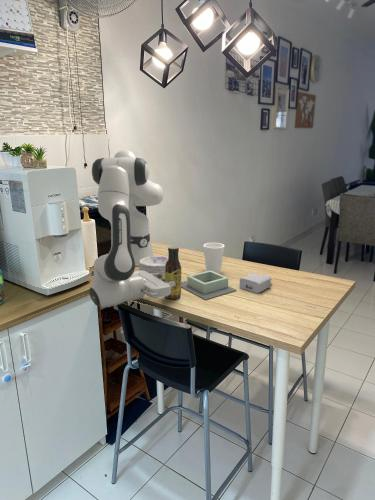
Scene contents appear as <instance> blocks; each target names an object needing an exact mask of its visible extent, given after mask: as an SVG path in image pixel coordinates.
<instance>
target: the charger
mask: <svg viewBox="0 0 375 500" xmlns="http://www.w3.org/2000/svg"><path fill="white" fill-rule="evenodd" d="M271 280H273V278H272V276H270V275H268V274H267V275H266V274H260V273H256V272H252V273H250V274H248V275H246V276H243V277H241V278H239V288H240V289H242V290H245V291H248V292H252V293H253V294H254V293H255V294H259V293H261V292H263V291H265V290H267V289H269V288H271V282H272V281H271Z"/></svg>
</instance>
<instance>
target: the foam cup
mask: <svg viewBox="0 0 375 500" xmlns="http://www.w3.org/2000/svg"><path fill="white" fill-rule="evenodd" d="M225 247H226V246H225V244H223V243H220V242H206V243H204V244H203V247H202V249H203V250H202V251H203V256H204V263H205V272H206V271H210V270H211V271H213V272H216V273H218V274H220V275H221V271H222V265H223V259H224V253H225Z"/></svg>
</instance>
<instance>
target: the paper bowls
mask: <svg viewBox="0 0 375 500" xmlns="http://www.w3.org/2000/svg"><path fill="white" fill-rule="evenodd" d="M168 257H169V256H164V255H163V256H161V255H153V256H151V257H145V258H143V259H141V260H140V261H139V266H138V267H139V268H138V269H139V270H138V271H140V270H142V271H146V272H148V273H149V274H151V273H152V274H157V273H160V274H162V278H160V280H162V281H165V265H166V262H167V261H168Z"/></svg>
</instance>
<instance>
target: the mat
mask: <svg viewBox="0 0 375 500" xmlns="http://www.w3.org/2000/svg"><path fill="white" fill-rule="evenodd" d="M207 282H210V281H206V282H204V283H207ZM181 289H184V290H185V291H187V292H189V293H191V294H193V295H195V296H197V297H198V298H201V299H203V300H204V301H208V300H211V299H215V298H218V297H221V296H225V295H228V294H231V293H234V292H236V291H237V289H235V288H233V287H231V286H229V285H228V287H227V288H223V289H220V290H216V291H213V292H209V293H206V294H203V293H201V292H199V291H197V290H196V289H194V288H192V287H190V286H188V285H187V280H185V281H181Z"/></svg>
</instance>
